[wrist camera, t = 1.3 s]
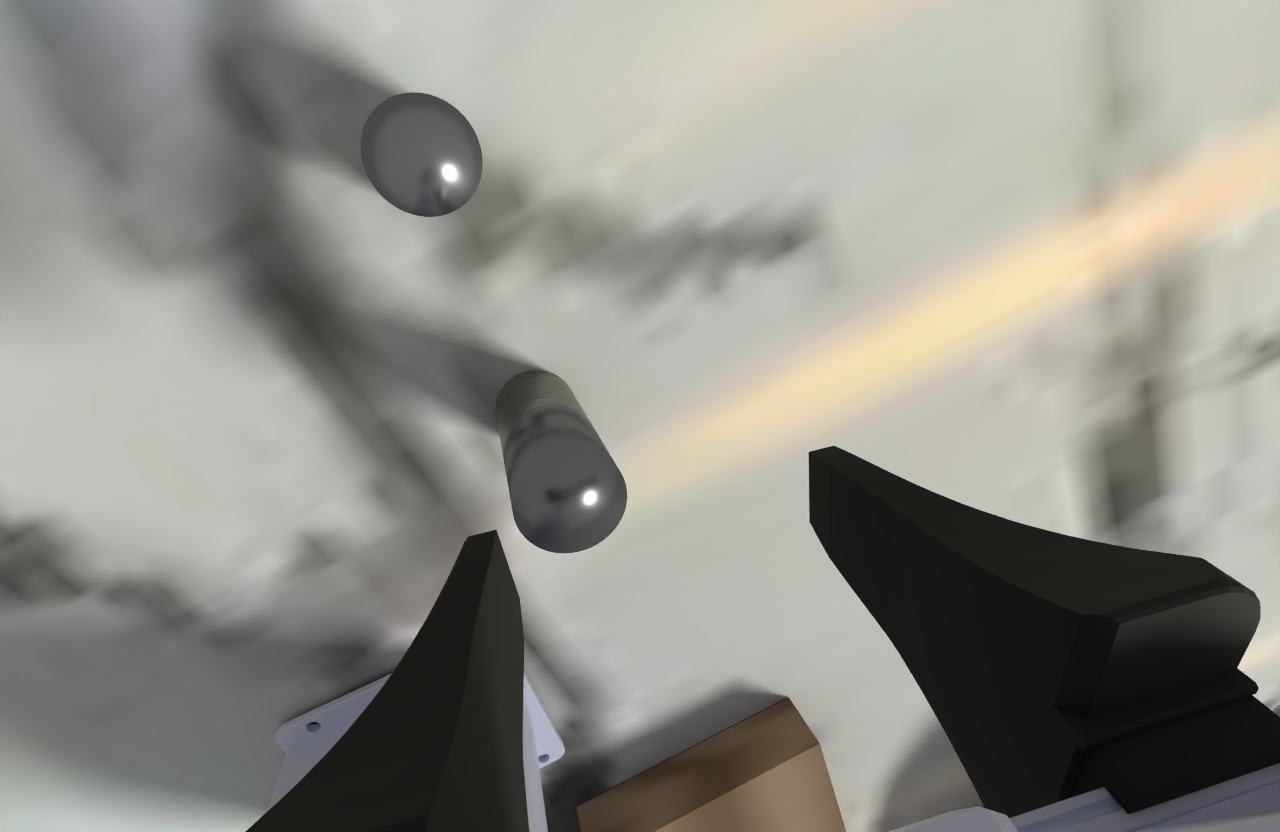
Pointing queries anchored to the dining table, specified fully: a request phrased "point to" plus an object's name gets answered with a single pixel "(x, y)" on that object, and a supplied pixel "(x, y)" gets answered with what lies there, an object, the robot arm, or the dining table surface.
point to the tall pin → (556, 466)
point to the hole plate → (729, 784)
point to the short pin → (421, 154)
